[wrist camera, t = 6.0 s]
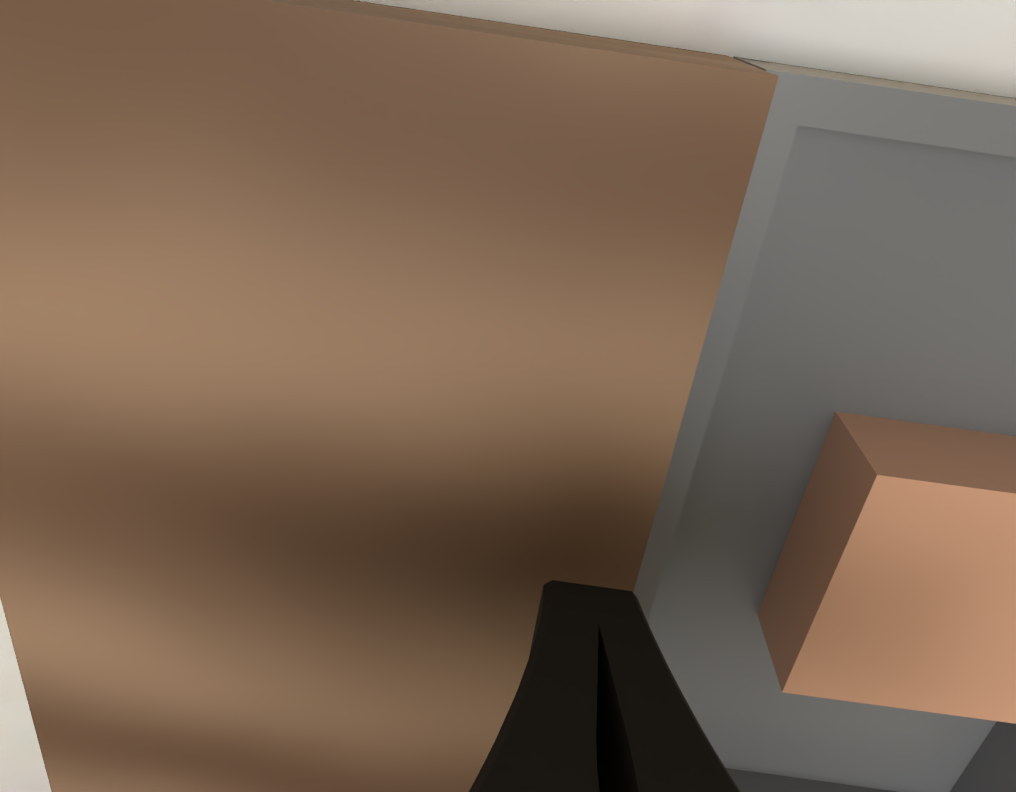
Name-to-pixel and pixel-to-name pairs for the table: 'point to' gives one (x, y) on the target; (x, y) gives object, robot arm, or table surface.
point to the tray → (835, 404)
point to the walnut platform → (333, 369)
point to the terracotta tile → (901, 572)
